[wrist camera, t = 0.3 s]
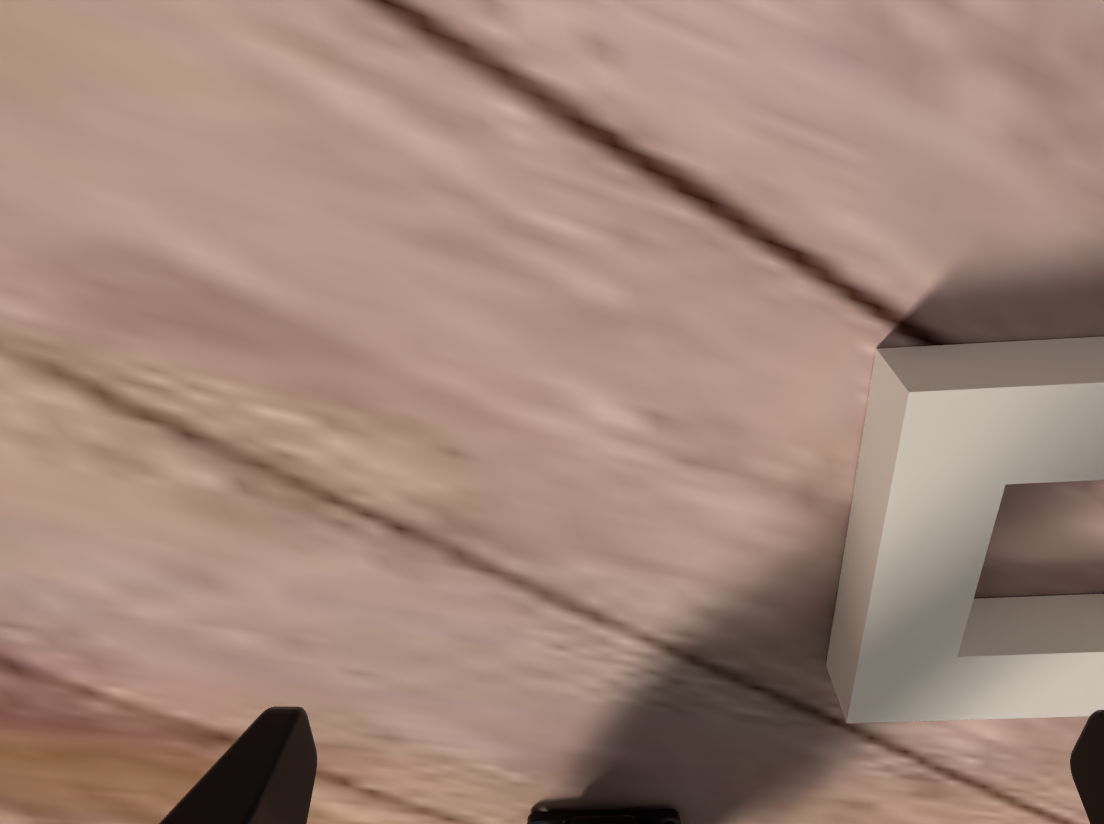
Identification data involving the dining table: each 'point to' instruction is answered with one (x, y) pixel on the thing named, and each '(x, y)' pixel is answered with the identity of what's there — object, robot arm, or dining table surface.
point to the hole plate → (965, 536)
